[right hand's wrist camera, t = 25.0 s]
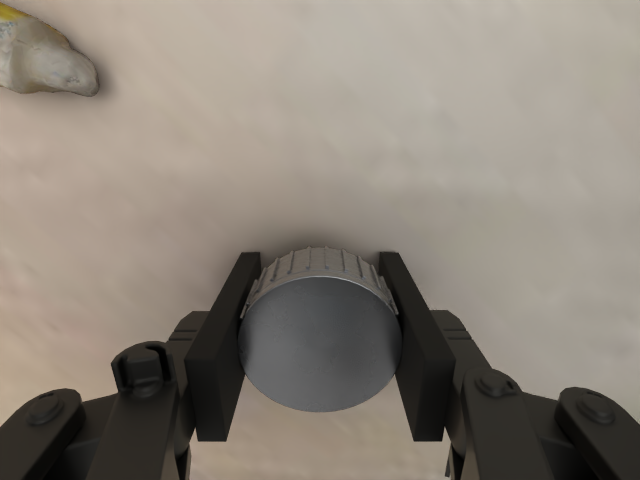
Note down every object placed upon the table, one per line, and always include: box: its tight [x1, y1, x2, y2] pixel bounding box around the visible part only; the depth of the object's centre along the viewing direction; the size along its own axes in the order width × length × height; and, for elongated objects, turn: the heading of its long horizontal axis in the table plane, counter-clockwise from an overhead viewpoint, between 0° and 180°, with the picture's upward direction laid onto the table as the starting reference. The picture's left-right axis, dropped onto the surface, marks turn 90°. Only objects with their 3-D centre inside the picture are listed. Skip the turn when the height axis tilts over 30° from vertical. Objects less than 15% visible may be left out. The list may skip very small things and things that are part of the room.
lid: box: [237, 246, 403, 412], centre depth 11 cm, size 5×5×2 cm
